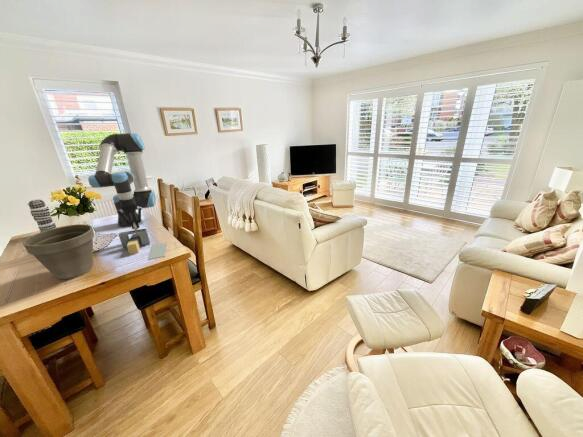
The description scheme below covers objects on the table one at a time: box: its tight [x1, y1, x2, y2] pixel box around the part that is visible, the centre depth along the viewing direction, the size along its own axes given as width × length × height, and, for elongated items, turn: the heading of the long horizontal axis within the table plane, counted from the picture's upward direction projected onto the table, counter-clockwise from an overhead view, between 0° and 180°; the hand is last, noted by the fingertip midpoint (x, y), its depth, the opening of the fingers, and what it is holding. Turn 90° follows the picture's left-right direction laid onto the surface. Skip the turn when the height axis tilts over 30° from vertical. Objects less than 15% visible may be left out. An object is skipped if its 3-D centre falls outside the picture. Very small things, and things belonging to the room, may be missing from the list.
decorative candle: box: [27, 199, 57, 233], centre depth 163 cm, size 9×9×25 cm
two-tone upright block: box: [127, 233, 143, 255], centre depth 144 cm, size 16×4×6 cm, turn 22°
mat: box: [148, 242, 168, 261], centre depth 141 cm, size 18×8×1 cm, turn 22°
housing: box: [118, 228, 151, 250], centre depth 145 cm, size 3×14×10 cm, turn 112°
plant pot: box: [22, 223, 95, 280], centre depth 119 cm, size 25×25×22 cm
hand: (137, 232), depth 153 cm, fingers closed
